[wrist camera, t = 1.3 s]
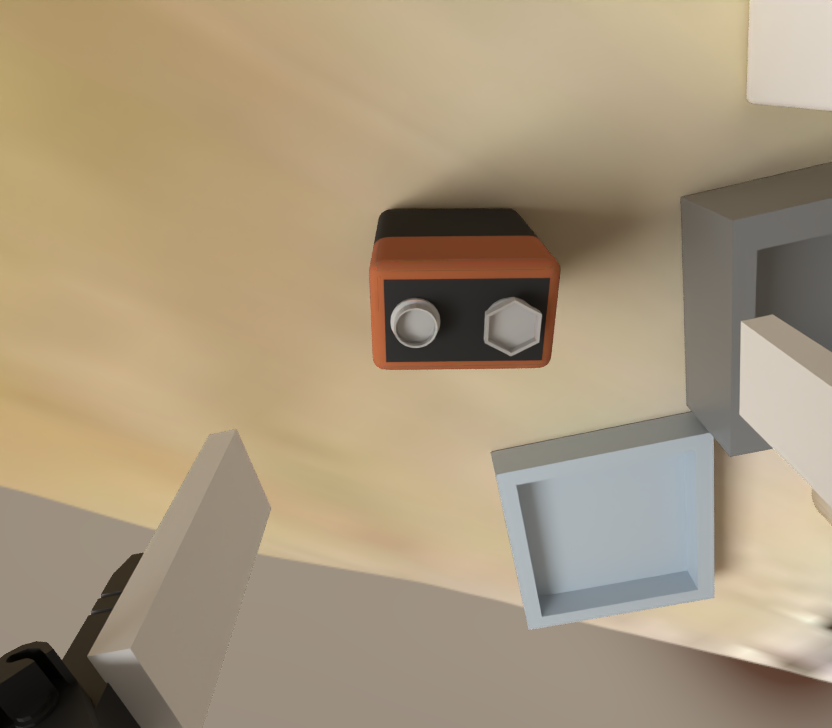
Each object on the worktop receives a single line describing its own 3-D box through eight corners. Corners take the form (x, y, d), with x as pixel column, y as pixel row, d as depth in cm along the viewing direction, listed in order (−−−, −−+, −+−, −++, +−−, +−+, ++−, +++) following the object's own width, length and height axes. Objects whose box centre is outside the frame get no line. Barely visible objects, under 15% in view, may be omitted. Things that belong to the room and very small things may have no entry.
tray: (490, 451, 35) (495, 474, 33) (695, 410, 34) (713, 431, 32) (522, 602, 40) (528, 629, 38) (698, 571, 39) (714, 597, 37)
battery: (512, 291, 30) (558, 383, 21) (381, 293, 30) (371, 385, 21) (518, 206, 28) (571, 267, 19) (378, 207, 28) (365, 269, 19)
